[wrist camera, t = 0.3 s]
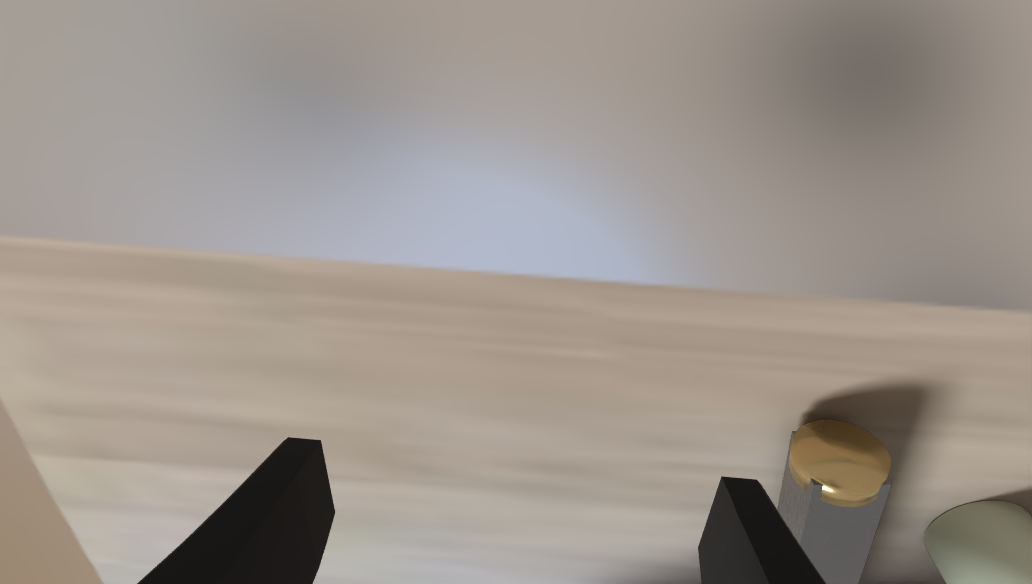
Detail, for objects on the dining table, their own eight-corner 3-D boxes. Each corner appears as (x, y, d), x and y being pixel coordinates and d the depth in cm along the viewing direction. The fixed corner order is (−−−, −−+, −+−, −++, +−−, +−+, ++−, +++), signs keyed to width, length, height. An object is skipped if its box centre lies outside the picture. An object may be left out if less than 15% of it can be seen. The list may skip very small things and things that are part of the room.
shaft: (811, 626, 29) (833, 695, 27) (746, 624, 30) (762, 692, 27) (869, 419, 22) (907, 487, 19) (781, 420, 22) (807, 487, 20)
